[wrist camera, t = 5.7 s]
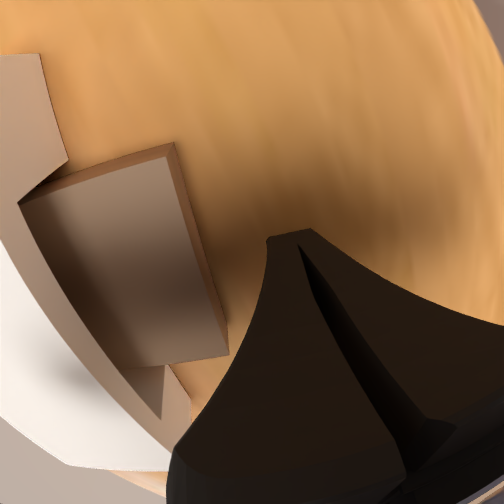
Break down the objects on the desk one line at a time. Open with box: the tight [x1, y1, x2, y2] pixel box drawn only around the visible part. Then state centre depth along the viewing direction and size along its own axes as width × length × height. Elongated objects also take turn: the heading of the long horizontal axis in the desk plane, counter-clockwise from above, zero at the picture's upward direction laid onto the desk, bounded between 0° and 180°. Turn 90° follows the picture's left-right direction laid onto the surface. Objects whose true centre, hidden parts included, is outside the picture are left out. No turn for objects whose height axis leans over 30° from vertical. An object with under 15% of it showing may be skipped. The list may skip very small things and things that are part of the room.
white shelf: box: [0, 53, 191, 471], centre depth 9 cm, size 16×7×4 cm, turn 10°
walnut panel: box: [17, 142, 229, 370], centre depth 9 cm, size 7×9×2 cm
